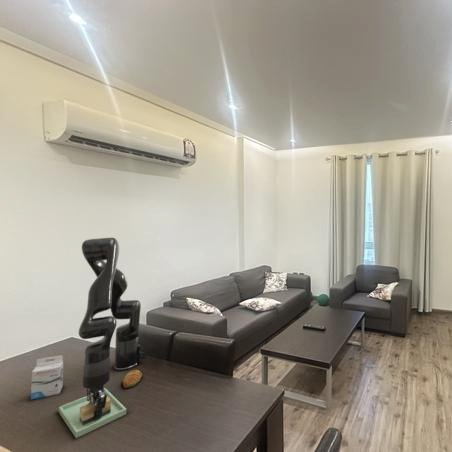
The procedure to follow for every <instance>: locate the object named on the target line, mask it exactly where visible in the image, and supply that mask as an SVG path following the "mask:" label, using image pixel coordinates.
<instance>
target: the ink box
mask: <svg viewBox="0 0 452 452" xmlns="http://www.w3.org/2000/svg"><path fill="white" fill-rule="evenodd" d="M63 381H64V355H63V354H61V355H60V354H59V355H53V356H48V357H42V358H37V359H36V366H35V367H34V369H33V370H32V371H31V384H30V385H31V386H30V400H31V401H32V400H33V401H34V400H38V399H41V398H46V397H50V396H51V397H52V396H55V395H59V394H61V391H62V390H63V385H64V384H63Z"/></svg>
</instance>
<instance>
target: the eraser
mask: <svg viewBox="0 0 452 452" xmlns="http://www.w3.org/2000/svg"><path fill="white" fill-rule="evenodd" d="M96 401H97V400H96ZM109 413H111V399H110V398H109V397H108V396H107V399H106V405H105V408H103V409H102V416H104V415H107V414H109ZM93 420H94V405H93V404H92V402H91V403H89V404H86V405H84V406H81V407H80V419H79V421H80V422H81V423H82V425H85V424H87V423H89V422H91V421H93Z"/></svg>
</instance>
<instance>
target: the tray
mask: <svg viewBox="0 0 452 452" xmlns="http://www.w3.org/2000/svg"><path fill="white" fill-rule="evenodd" d="M104 394H107V396H108V397H109V398H110V399H111V413H109V414H107V415H104V416H102V417H101V418H100V419H97V420H93V421H91V422H89V423H87V424H85V425H82V423H81V422H80V421H79V419H80V407H81V406H84V405H86V404H89V401H87V395H86V396H84V397H81V398H78V399H76V400H73V401H71V402H67V403H65V404H63V405H60V406H59V407H58V414H59V415H60V416H61V418H62V419H63V421H64V423H65V424H66V426H67V427H68V429H69V430H70V432H71V433H72V435H73V436H74V438H75V439H77V438H78V439H79V437H81V436H85V435H86V434H88V433H90V432H92V431H94V430H96V429H99V428H100V427H102V426H105V425H107V424H108V423H111V422H113V421H115V420H117V419H119V418H121V417H123V416H125V415H127V407H125V405H123V403H121V402H120V401H119V400H118V399H117V398H116V397H115V396H114V395H113V394H112V393H111V392H110V390H108V388H105V392H104Z"/></svg>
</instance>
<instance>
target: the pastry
mask: <svg viewBox="0 0 452 452" xmlns="http://www.w3.org/2000/svg"><path fill="white" fill-rule="evenodd" d="M142 376H143V373H142V372H141V371H140V370H138V369H133V370H131V371H128V372H127V373H126V375H125V376H124V377H123V379H122V385H123V388H124V389H126V388H131V387H135V386H136V385H137V384H138V383H139V381H140V380H141V378H142Z"/></svg>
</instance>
